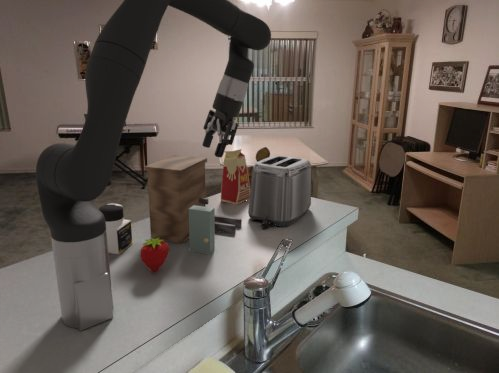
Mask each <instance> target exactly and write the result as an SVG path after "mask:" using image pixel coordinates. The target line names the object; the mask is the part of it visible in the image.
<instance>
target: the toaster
mask: <svg viewBox="0 0 499 373" xmlns="http://www.w3.org/2000/svg"><path fill="white" fill-rule="evenodd" d="M253 166H254V167H253V169H252V178H251V188H250V198H249V200H248V208H247V210H248V211H247V212H248V217H249V218H250V219H251V220H252V221H255V220H259V221H261V226H260V228H261V229H262V230H267V229H268V228H270V227H273V225H275V226H276V227H288V226H289V225H291V224H293V223H294V222H295V221H296V220H297V219H298V218H301V216H302V215H304V214H305V213H307V212H308V211H309V209H310V207H311V205H312V164H311V161H310V160H309V159H306V158H301V157H296V156H295V157H294V156H289V155H280V154H277V155H272V156H270V157H268V158H266V159H263V160H261V161H259V162H257V161H256V162H255V163H254V165H253ZM287 225H288V226H287Z"/></svg>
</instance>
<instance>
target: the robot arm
mask: <svg viewBox="0 0 499 373" xmlns="http://www.w3.org/2000/svg"><path fill="white" fill-rule="evenodd" d="M168 6H169V7H171V8H174V9H176V10H178V11H181V12H183V13H185V14H188V15H190V16H191V17H193V18H195V19H197V20H199V21H201V22H203V23H205V24H207V25H208V26H210V27H211V28H213V29H215V30H216V31H218V32H219V33H221V34H224V36H228V37H229V38H230V39H229V48H228V49H229V50H228V60H227V64H226V66H225V70H224V72H223V75H222V78H221V80H220V82H219V85H218V88H217V90H216V93H215V96H214V100H213V103H212V109H214V110H212V109H209V111H208V114H207V116H206V119H205V122H204V125H203V130H205V131H204V134H205V135H204V139H203V141H202V146H203V148H207V149H209V148H211V145H212V143H213V139H214V135H215V134H217V135H218V143H217V146H216V149H215V151H214V154H213V155H214V156H215V157H217V158H219V159H221V158H223V156H224V155H225V154H224V153H225V152H224V151H226V147H227V146H228V145H230V146H232V145H233V143H234V139H235V137H236V133H237V131H238V127H239V123H238V122H234V121H233V120H234V117H239V115H240V112H241V109H242V106H243V105H244V104H243V103H244V101H245V98H246V95H247V91H248V86H249V83H250V80H251V77H252V75H253V72H254V68H255V62H254V61H253V60H251V59H250V58H249V57H248V56H249V55H248V54H249V53H248V52H249V49H250V50H253V51H261V50H264V49H266V48H267V47H268V46H269V44H270V43H271V41H272V31H271V29H270V27H269V25H268V24H267V23H266V22H265V21H264V20H262V19H261V18H259V17H257V16H256V15H253V14H251V13H249V12H246V11H245V10H243V9H241V8H240V7H239V6H238V5H236V4H234V3H233V2H232V1H230V0H123V1H122V2H121V3H120V5H119V6H118V8H117V9H116V10H115V11H114V12H113V14H112V15H111V16H110V18H109V19H108V21H106V23H105V25H104V26H103V27H102V29H101V31H100V32H99V34H98V36H97V38H96V40H95V42H94V45H93V47H92V50H91V51H90V55H89V58H88V60H87V63H86V66H85V73H84V81H85V82H84V83H85V94H86V100H87V101H86V103H87V110H86V111H87V112H86V117H85V121H84V124H83V127H82V130H81V131H80V135H79V137H78V139H77V141H76V143H75V144H71V143H64V142H63V143H60V142H59V143H55V144H54V143H53V144H51V145H49V146H47V147H46V148H44V149H43V150H42V152H41V153H40V154H39V156H38V158H37V160H36V164H35V165H36V166H35V178H36V186H37V193H38V197H39V202H40V208H41V212H42V217H43V219H44V222H45V223H46V225H47V227H48V228H49V231H50V232H49V233H50V238H51V239H50V240H51V245H52V254H53V261H54V269H55V277H56V284H57V291H58V292H57V293H58V298H59V299H58V300H59V304H60V312H61V319H62V322H63V323H64V325H66V327H67V326H68V327H70V328H76V329H78V330H79V331H80V332H81V331H84V330H86V329H87V330H88V329H89V328H91V327H94V326H96V325H98V324H101V323H103V322H106V321H107V320H108V321H109V320H110V319H113V318H114V301H113V299H114V298H113V290H112V281H111V268H110V259H109V256H110V255H109V253H108V245H107V233H106V221H105V217H104V215H103V213H102V212H101V211H100V210H99V208H98V207H97V206H96V205H95V204H94V202H93V201H94V200H96V199H97V198H98V197H99V196H101V195H102V194H103V193H104V191H105V190H106V188H107V186H108V185H109V182H110V180H111V177H112V175H113V171H114V168H115V161H116V159H117V158H116V157H117V154H118V150H119V146H120V142H121V138H122V133H123V130H124V127H125V123H126V120H127V118H128V114H129V111H130V109H131V106H132V103H133V100H134V96H135V94H136V91H137V89H138V87H139V85H140V81H141V80H142V76H143V73H144V71H145V68H146V64H147V61H148V57H149V55H150V52H151V50H152V46H153V45H154V41H155V38H156V36H157V33H158V31H159V28H160V25H161V23H162V19H163V17H164V15H165V12H166V11H167V9H168Z"/></svg>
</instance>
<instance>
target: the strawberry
mask: <svg viewBox="0 0 499 373" xmlns="http://www.w3.org/2000/svg"><path fill="white" fill-rule="evenodd" d="M159 238H160V237H159ZM159 238H157V239H153V238H151V237H150V239H144V241H146V242H144V243H143V246H142V247H141V249H140V254H139V257H140V260H141V261H142V264H144V266H146V268H147V269H149V270H150V272H152V273H157V272H159V270H160V268H161V267H162V266H163V265H164V263H165V262H166V261H167V259H168V256H169V252H170V247H169V243H167V242H165V240H159Z"/></svg>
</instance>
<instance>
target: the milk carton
mask: <svg viewBox="0 0 499 373" xmlns="http://www.w3.org/2000/svg"><path fill="white" fill-rule="evenodd" d="M224 153H225V154H224V158H223V166H222V175H221V176H222V177H221V184H220V185H221V187H220V202H224V203H228V204H231V203H232V204H231V205H235V204H236V205H235V206H238V205H240V203H241V204H243V203H245V202H244V201H246V200H248V201H249V198H250V184H249V177H248V170H247V169H248V166H247V161H246V160H247V159H246V155H245V154H244V153H242V148H241V149H236V150H225V151H224ZM242 202H243V203H242ZM246 202H247V201H246ZM237 204H238V205H237Z"/></svg>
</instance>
